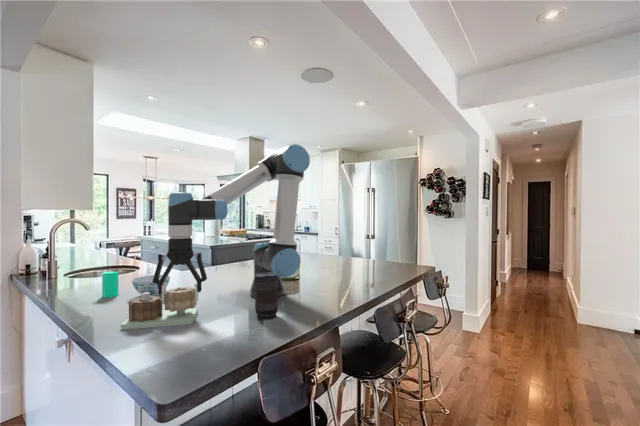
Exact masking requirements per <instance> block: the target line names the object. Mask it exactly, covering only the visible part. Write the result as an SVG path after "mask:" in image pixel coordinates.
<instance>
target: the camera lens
mask: <svg viewBox="0 0 640 426" xmlns="http://www.w3.org/2000/svg"><path fill="white" fill-rule="evenodd" d="M253 280H254V283H255V298H254V308H255V314H256V318H257V319H259V320H264V321H265V320H267V321H268V320H274V319H275V318H276V317H277V313H278V308H279V300H278V298H279V297H278V293H277V289H278V276H277V273H274V272H264V273H258V274H256V275H255V278H254V277H253Z"/></svg>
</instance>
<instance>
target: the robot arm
mask: <svg viewBox="0 0 640 426" xmlns="http://www.w3.org/2000/svg"><path fill="white" fill-rule="evenodd" d="M310 163H311V158H310V155H309V152H308V151H307V150H306V148H304V147H303V146H302V145H300V144H297V143H293V144H287V145H286V146H284V147H282V148H279V149H276V150H274V151H273V152H271V153H270V154H268V156H266V157H265V158H263V159H261V160H260V161H258V162H257V163H256V166H255V167H252V168H251V169H249V170H248V171H246V172H244V173H243V174H241V175H240V176H238V177H236V178H234V179H233V180H230V181H229V182H227V183H226V184H224V185H222V186H221V187H218V188H217V189H216V190H214V191H212V192H210V193H209V194H207V195H206V196H204V197H202V198H193V194H192V193H191V192H178V191H177V192H171V193H170V194H169V195H168V206H167V210H168V216H167V217H168V229H167V230H168V232H167V233H168V237H169V238H168V243H167V244H168V246H167V247H168V248H167V249H168V250H167V253H159V254H158V255H157V258H158V262H157V264H156V268H155V271H154V274H153V275H154V278H153V281H152V282H153V283H156V284H158V285H159V294H160V295H161V299H162V306H163V305H164V306H165V293H167V287H166V283H165V284H164V281H165V280H166V278H167V276H169V274H170V273H171V271H172V269H173V267H174V266H179V265H181V266H186V267H187V268H188V270H189V271H190V273H191V274H192V276H193V278H194V280H195V282H194V289H195V303H196V304H197V303H198V301H199V293H201V292H202V282H206V281H207V279H208V277H207V272H206V270H205V265H204V263H203V258H202V256H203V253H202V252H194V251H193V238H192V236H193V221H219V220H221V221H222V220H226V219H227V216H228V210H229V209H228V205H230V204H231V203H233V202H235V201H236V200H238V199H239V198H241V197H243V196H244V195H246V194H247V193H250V192H251V191H252V190H254V189H256V188H257V187H259V186H260V185H262V184H264V183H265V182H268V183H269V182H272V180H275V179H277V180H278V182H277V183H278V185H277V194H276V195H277V196H276V203H275V204H276V206H275V212H274V213H275V215H274V224H273V235H272V239H270V240H269V241H268V242H263V243H256V244H255V245H253V246H254V247H253V280H252V283H251V286H250V288H249V289H250V290H249V293H250V295H249V296H250V297H251V298H253V299H255V283H254V278H255V275H256V274H258V273H264V272H274V273H277V276H278V289H277V293H278V298H280V297H282V296H284V295H285V287H284V283H283V280H282V278H288V277H291V276H293V275H294V274H295V273H296V272H298V270H299V268H300V265H301V256H300V254H299V252H298V251H297V250H298V249H297V248H298V243H297V242H296V241H295V231H296V222H297V221H296V219H297V211H298V199H299V187H300V182H302V181H303V180H304V176H305V171H306V170H307V169H308V168H310ZM193 257H194V259H195V260H196V261H197V266H198V270H199V272H200V274H199V273H198V271H197V270H196V268H195V266H194V264H193V262H192V261H191V259H192V258H193ZM167 258H168V259H169V260H170V262H169V263H168V266H167V267H166V269H165V270H164V272H163V274H162V275H163V276H162V277H161V279H160V280H159V276H160V275H161V272H162V269H163V266H164V261H165V260H166V259H167Z"/></svg>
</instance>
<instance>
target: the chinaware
mask: <svg viewBox="0 0 640 426" xmlns="http://www.w3.org/2000/svg"><path fill="white" fill-rule="evenodd" d="M162 276H163V274H160V276H159V280H160V279H161V277H162ZM153 278H154V274H153V275H143V276H137V277H134V278H132V279H131V284H132V286H133V288H134V290H135V291H136V292H137V293H139V294H140V295H141V294H142V293H146V292H150V296H158V297H160V295H161V294H159V285H158V284H156V283H153V282H152V281H153ZM170 280H171V276H170V275H168V276H167V278H166V280H165V281H164V284H165V283H166V288H167V286H168V285H169V282H170Z"/></svg>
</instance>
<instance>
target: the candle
mask: <svg viewBox="0 0 640 426" xmlns="http://www.w3.org/2000/svg"><path fill="white" fill-rule="evenodd" d="M101 285H102V286H101V288H102V289H101V290H102V291H101V293H102V298H103V297H104V299H105V298H107V297H109V298H113V297H114V296H115V297H117V296H119V272H118V271H111V268H110V269H109V271H105V272H102V273H101Z"/></svg>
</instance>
